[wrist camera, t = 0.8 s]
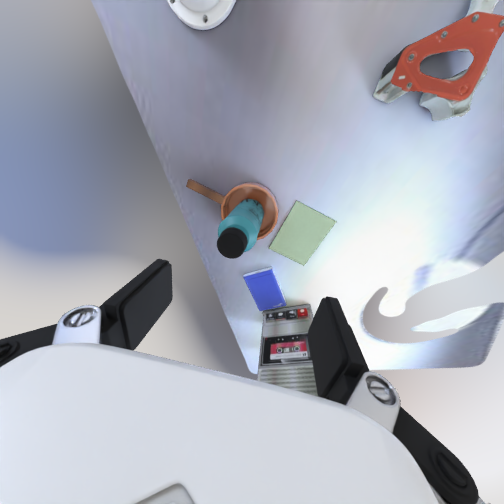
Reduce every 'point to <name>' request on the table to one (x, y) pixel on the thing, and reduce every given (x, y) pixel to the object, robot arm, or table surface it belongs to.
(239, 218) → the beverage bottle
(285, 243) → the cloth
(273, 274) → the hard drive
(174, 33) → the table surface
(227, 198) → the pan
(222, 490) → the robot arm
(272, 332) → the tall grey upright box
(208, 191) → the pan handle
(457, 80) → the tape dispenser
